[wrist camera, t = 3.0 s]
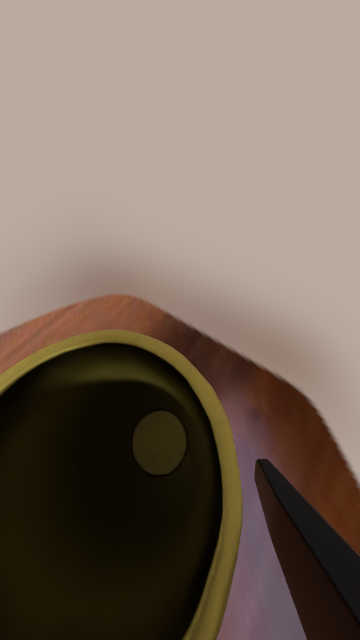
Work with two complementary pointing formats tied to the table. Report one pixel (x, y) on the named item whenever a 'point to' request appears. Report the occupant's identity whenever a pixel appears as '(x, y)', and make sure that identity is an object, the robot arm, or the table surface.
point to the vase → (115, 494)
